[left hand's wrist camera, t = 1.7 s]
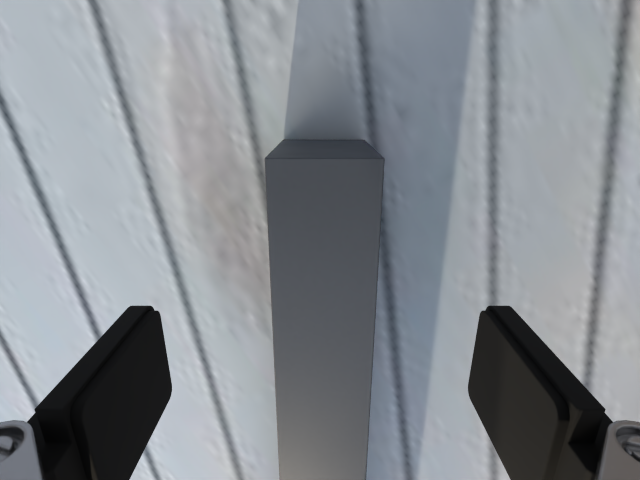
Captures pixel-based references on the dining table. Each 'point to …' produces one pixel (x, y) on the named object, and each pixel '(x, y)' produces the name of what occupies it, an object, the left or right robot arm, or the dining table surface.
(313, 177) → the beam
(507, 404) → the left robot arm
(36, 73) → the dining table surface
